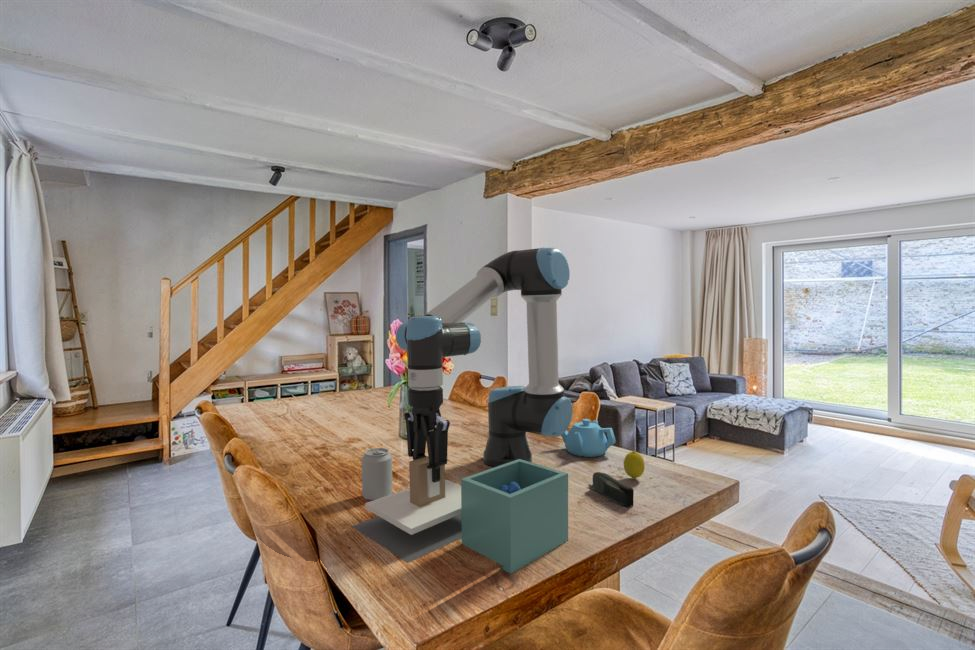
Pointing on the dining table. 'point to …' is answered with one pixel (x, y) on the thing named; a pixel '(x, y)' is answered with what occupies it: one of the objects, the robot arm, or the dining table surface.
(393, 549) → the mat
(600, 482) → the mobile phone
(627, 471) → the lemon
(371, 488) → the can
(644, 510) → the dining table surface
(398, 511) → the lid
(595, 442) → the teapot
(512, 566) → the teal storage bin
